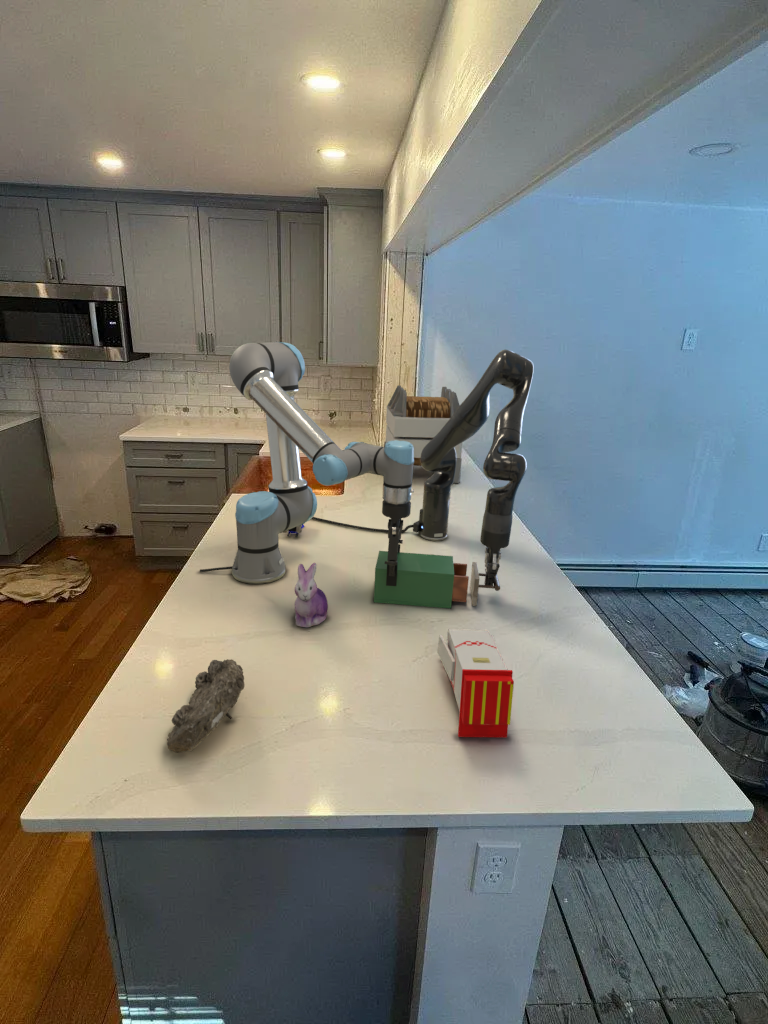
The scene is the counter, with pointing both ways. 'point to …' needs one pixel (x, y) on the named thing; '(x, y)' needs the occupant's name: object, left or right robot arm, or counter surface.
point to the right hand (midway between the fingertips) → (488, 586)
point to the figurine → (309, 599)
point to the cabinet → (416, 580)
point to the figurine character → (294, 530)
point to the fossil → (206, 705)
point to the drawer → (462, 583)
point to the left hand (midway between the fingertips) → (392, 575)
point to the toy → (478, 682)
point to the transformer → (421, 421)
